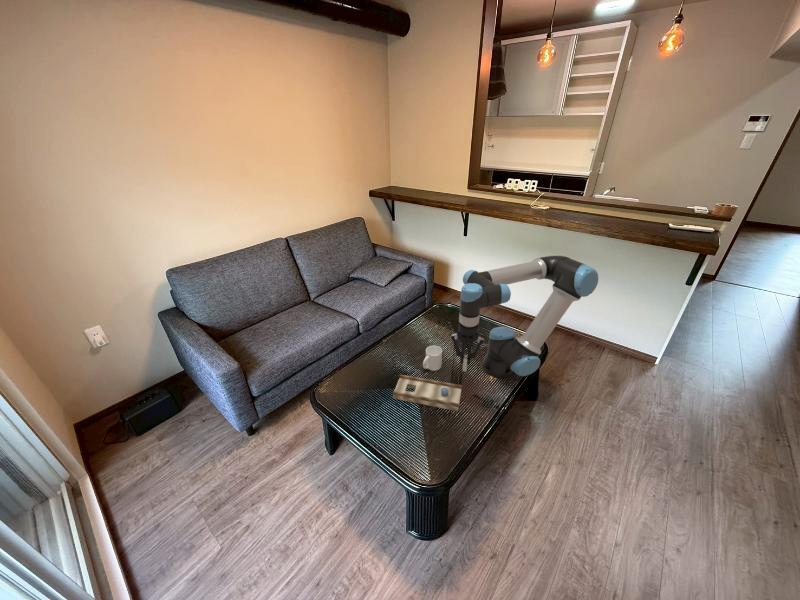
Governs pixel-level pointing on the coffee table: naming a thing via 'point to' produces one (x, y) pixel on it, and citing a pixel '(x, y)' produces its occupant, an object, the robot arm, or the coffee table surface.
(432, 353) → the mug
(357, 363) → the coffee table surface
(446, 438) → the coffee table surface
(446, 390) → the ball
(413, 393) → the tray
